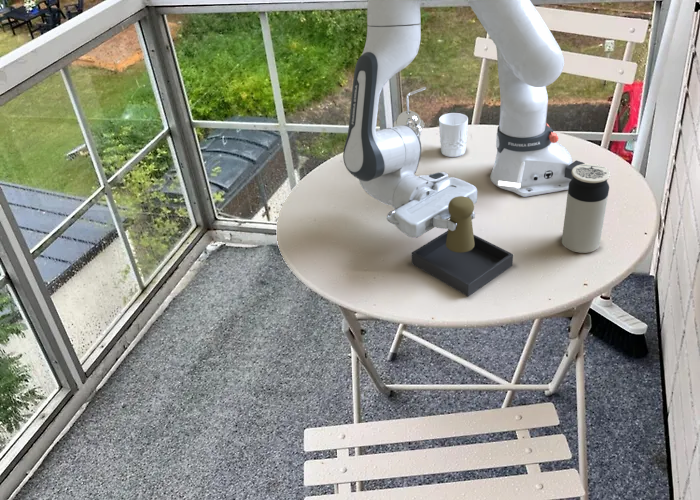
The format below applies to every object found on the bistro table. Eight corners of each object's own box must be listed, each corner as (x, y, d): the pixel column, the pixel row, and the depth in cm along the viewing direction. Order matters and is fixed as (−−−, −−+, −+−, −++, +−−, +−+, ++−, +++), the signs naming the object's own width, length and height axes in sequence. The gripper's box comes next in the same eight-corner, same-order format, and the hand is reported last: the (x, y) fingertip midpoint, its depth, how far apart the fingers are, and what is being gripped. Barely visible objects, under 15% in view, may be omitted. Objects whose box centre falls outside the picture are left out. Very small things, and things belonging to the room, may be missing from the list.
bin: (411, 264, 144) (411, 252, 142) (455, 236, 151) (455, 225, 149) (468, 296, 133) (468, 284, 132) (512, 265, 140) (513, 254, 139)
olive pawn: (456, 255, 136) (457, 211, 129) (440, 241, 140) (440, 198, 134) (480, 246, 138) (482, 202, 131) (463, 232, 142) (464, 189, 136)
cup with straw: (397, 150, 188) (393, 83, 176) (428, 151, 186) (427, 83, 174) (392, 164, 181) (389, 96, 169) (425, 165, 179) (423, 96, 168)
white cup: (466, 144, 187) (467, 112, 181) (468, 157, 181) (468, 124, 175) (438, 145, 188) (438, 113, 182) (439, 158, 182) (439, 125, 176)
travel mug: (593, 257, 140) (605, 184, 130) (556, 248, 144) (565, 177, 133) (603, 238, 145) (616, 166, 135) (567, 229, 149) (577, 159, 139)
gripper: (381, 204, 137) (429, 229, 128) (448, 168, 147) (497, 189, 138) (382, 229, 140) (429, 255, 132) (448, 192, 150) (495, 214, 142)
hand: (464, 221), depth 135 cm, fingers closed on olive pawn, 4 cm apart
